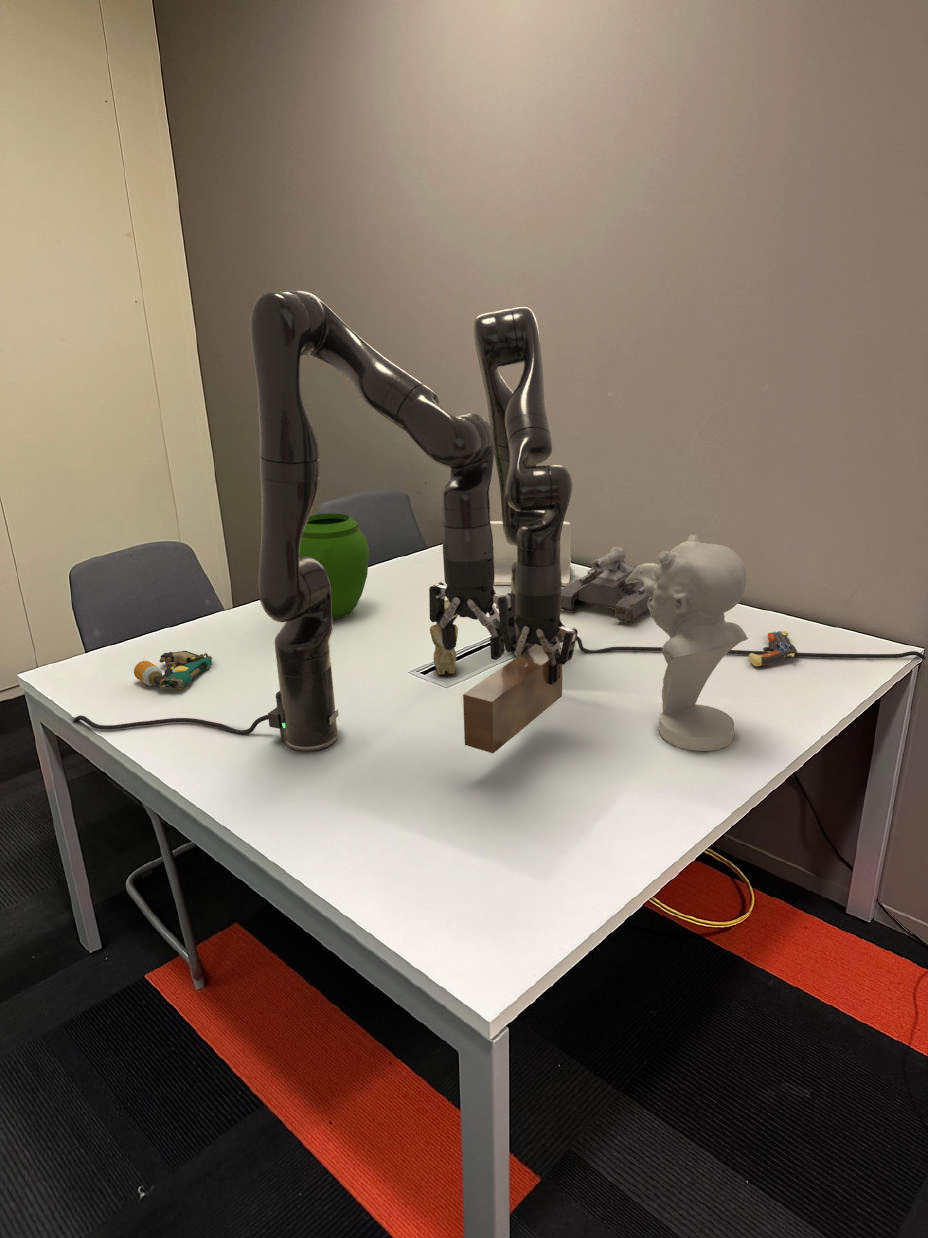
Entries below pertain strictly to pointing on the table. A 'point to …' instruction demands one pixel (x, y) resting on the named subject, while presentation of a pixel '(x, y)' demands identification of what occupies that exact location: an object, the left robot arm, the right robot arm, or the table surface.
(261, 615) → the table surface
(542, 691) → the bar
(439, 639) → the sculpture
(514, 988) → the table surface
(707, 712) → the bust sculpture
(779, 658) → the toy gun
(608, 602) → the toy
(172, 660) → the spray gun
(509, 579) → the tablet stand
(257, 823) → the table surface
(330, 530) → the vase
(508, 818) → the table surface
